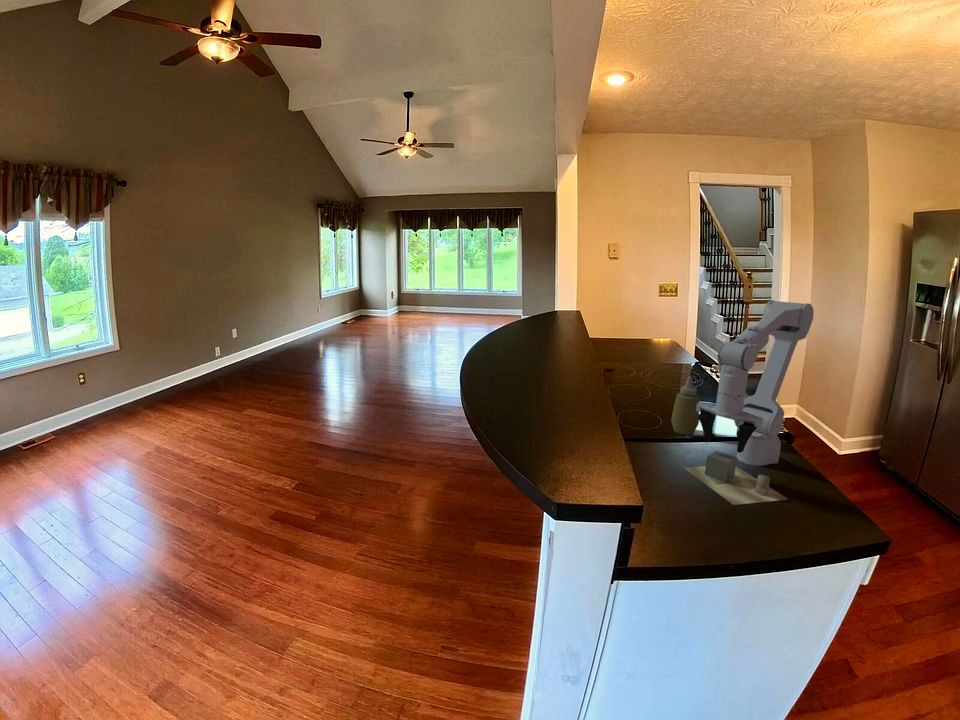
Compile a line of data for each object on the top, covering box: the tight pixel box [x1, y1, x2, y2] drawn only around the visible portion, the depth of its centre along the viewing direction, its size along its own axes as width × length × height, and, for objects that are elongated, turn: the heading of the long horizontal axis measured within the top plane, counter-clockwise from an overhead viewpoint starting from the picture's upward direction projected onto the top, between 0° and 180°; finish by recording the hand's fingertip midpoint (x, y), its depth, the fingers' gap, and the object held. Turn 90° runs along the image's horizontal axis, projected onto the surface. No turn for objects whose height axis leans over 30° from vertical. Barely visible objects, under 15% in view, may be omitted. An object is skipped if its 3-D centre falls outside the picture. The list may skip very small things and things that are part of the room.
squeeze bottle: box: [670, 375, 700, 436], centre depth 146 cm, size 8×8×18 cm
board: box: [684, 465, 789, 506], centre depth 113 cm, size 14×18×6 cm
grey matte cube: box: [705, 450, 738, 482], centre depth 115 cm, size 5×5×5 cm
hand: (723, 446), depth 114 cm, fingers open, 7 cm apart
